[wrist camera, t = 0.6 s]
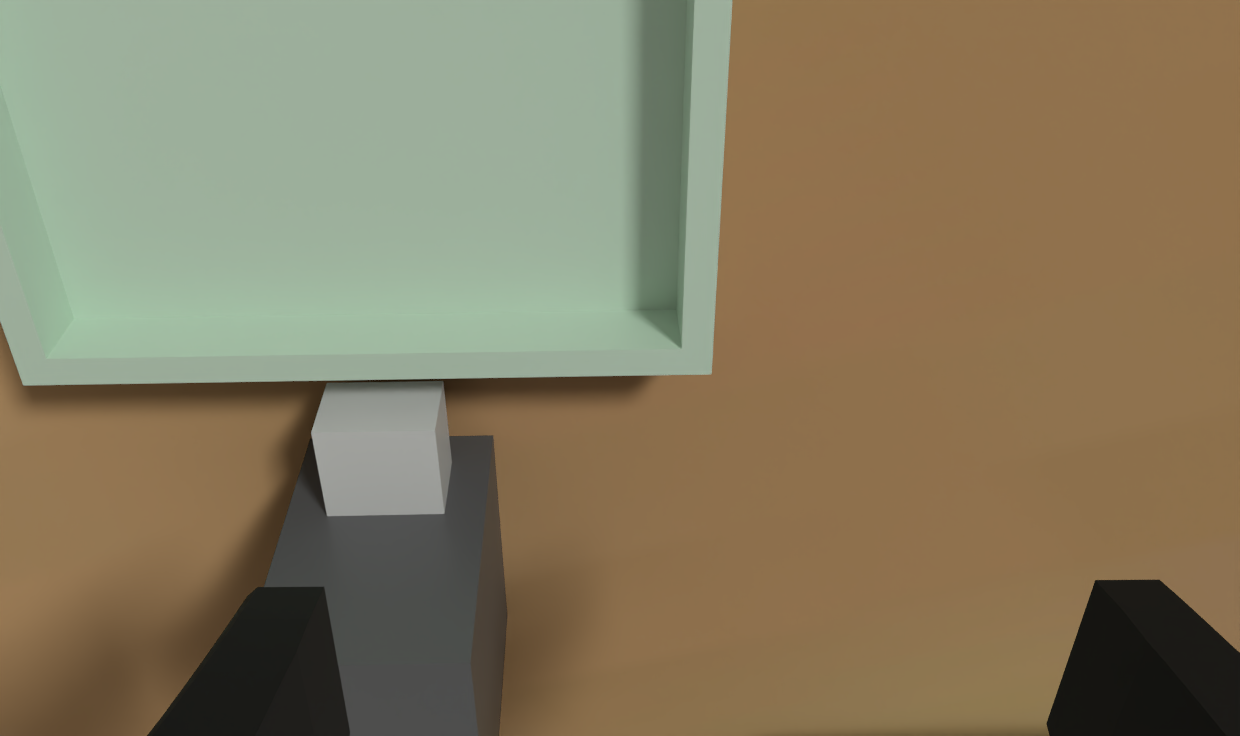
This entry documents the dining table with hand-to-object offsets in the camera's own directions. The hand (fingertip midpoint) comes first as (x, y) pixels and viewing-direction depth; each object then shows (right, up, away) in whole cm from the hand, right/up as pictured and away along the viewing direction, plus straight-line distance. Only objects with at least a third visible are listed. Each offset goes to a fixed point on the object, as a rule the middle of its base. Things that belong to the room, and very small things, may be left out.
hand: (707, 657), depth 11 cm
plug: (-5, 0, +12) cm, 13 cm away
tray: (-5, +8, +6) cm, 11 cm away
